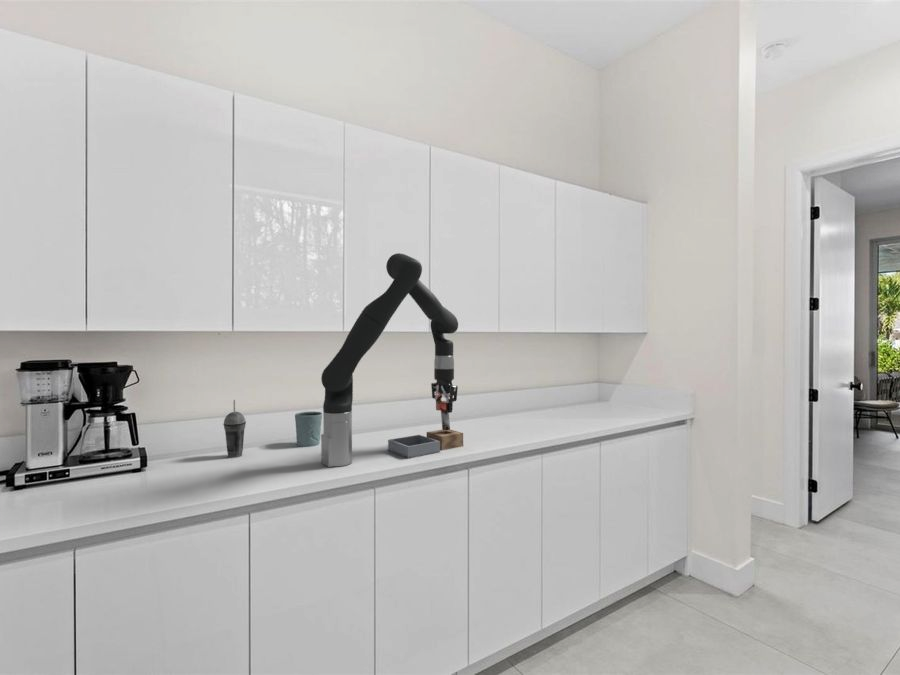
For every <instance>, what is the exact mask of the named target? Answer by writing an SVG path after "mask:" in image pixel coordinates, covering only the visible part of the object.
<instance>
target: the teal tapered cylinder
mask: <svg viewBox="0 0 900 675" xmlns="http://www.w3.org/2000/svg"><path fill="white" fill-rule="evenodd" d="M322 418H323V413H322V412H320V411H301V412H296V413H295V414H294V420H295V433H296V446H297V447H302V448H308V447H309V448H311V447H315V446H319V445H320V443H321V428H322V420H323V419H322Z"/></svg>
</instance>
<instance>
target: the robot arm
mask: <svg viewBox="0 0 900 675" xmlns="http://www.w3.org/2000/svg"><path fill="white" fill-rule="evenodd" d="M385 267H386V272H387V274H388V276H389V277H390V278H391V279H392V280H393V281H392V282H391V284H390V285H389V286H388V288H387V289H386V290H385V291H384V292H383V293H382V294H381V295H380V296H378V297H377V298H375V299H374V300H373V301H371V302H369V303H368V304H366V306H365V307H364V308H363V310H362V311H361V313H359V316H358V317H357V319H356V321H355V322H354V323H353V325H352V327H351V329H350V331H349V333H348V334H347V336H346V338H345V340H344V342H343V344H342V346H341V348H340V349H339V350H338V352H337V353H336V355H334V357H333V358H332V360H331V361H330V362H329V363H328V364H327V365H326V367H325V368H324V369H323V371H322V373H321V378H320V379H321V384H322V386H323V388H324V401H323V405H322V406H323V407H322V408H323V409H322V411H323V413H322V418H323V419H322V420H323V421H322V422H323V434H320V443H321V444H320V447H321V450H320V451H321V452H320V455H321V460H320V461H321V464H323V465H324V466H326V467H328V468H331V467H342V466H343V467H344V466H348V465H350V464H352V463H353V413H352V412H353V407H352V406H353V399H354V398H353V397H354V396H353V395H354V392H353V391H354V389H353V388H354V386H353V385H354V384H353V383H354V379H353V377H354V376H353V374H354V372H355V370H356V368H357V366H358V364H359V363H360V362H361V359H362V358H363V357H364V356H365V355H366V353H367V352H368V351H370V349H371V348H372V347H373V346H374V344H375V343H376V342H377V340H378V339H379V338H380V336H381V335H382V333H383V332H384V330H385V328H386V327H387V325H388V324H389V321H390V320H391V318H392V317H393V316H394V314H395V313H396V312H397V311H398V310H397V309H398V308H399V307H400V306H401V304H402V302H403V301H404V300H405V299H406V297H407V296H408V295H409V296H410V297H411V298H412V299H413V302H415V303H416V304H417V306H418V308H419V309H420V310H421V311H422V312H423V314H424V315H425V316H426V317H427V318H428V320H430V330H431V335H432V339H433V343H434V360H433V361H434V362H433V363H434V366H433V368H434V369H433V370H434V372H433V374H434V375H433V378H434V379H433V380H435V381H436V382H432V383H431V384H430V385H431V398H432V399H433V400H435V404H436V403H437V402H438V401H443V400H442V399H443V397H444V398H445V401H447V403H446V412H447V413H449V414H450V413H453V404H454V402H456V401H457V399H458V398H457V397H458V388H459V387H458V385H453V380H454V379H455V360H454V342H453V340H451V339H447V338H446V337H445V336H444V334H448V335H450V334H454V333H456V332H457V330H459V329H458V328H459V321H458V319H457V317H456V316H455V314H453V313H452V312H451V310H450V309H449V310H448V309H447V307H445V306H443V305H442V303H441V302H440V300H439V299H438V298H437V296H436V295H435V294H434V292H432V291H431V290H430V289H429V288H428V287H427V286H426V285H425V284H424V283H423V282H422V281H421V280H420V278H421V276H422V273H423V266H422V264H421V262H420V261H419V260H418V259H416V258H414V257H411V256H409V255H407V254H404V253H400V252H399V253H398V252H397V253H394V254H391V256H389V258H388V260H387V262H386V266H385ZM435 410H436V411H438V410H437V407H436V406H435Z"/></svg>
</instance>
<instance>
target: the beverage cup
mask: <svg viewBox="0 0 900 675" xmlns="http://www.w3.org/2000/svg"><path fill="white" fill-rule="evenodd" d="M246 423H247V422H246V418H245V416H244V415H243V414H242V413H241V412H238V411H236V399H233V411H231V412H230V413H228V414H227V415H226V416H225V418H224V420H223V424H222V425H223V428H224V433H225V442H226V450H227V458H229V459H233V458H240V457H242V456H243V452H244V440H245V439H244V437H245V429H246Z"/></svg>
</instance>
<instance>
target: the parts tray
mask: <svg viewBox="0 0 900 675" xmlns="http://www.w3.org/2000/svg"><path fill="white" fill-rule="evenodd" d="M387 444H388V445H387V451H388V452H390V453H393V454H395V455H399V456H401V457H403V458H406V459H412V458H416V457H423V456H427V455H429V456H430V455H433V454H439V453H441V450H440V441H438V440H435V439H431V438H428V437H427V436H425V435H421V434H416V435H409V436H408V435H407V436H403V437H397V438H390V439H388V440H387Z"/></svg>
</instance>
